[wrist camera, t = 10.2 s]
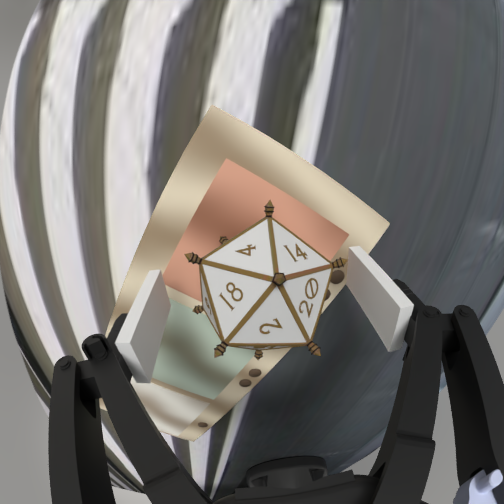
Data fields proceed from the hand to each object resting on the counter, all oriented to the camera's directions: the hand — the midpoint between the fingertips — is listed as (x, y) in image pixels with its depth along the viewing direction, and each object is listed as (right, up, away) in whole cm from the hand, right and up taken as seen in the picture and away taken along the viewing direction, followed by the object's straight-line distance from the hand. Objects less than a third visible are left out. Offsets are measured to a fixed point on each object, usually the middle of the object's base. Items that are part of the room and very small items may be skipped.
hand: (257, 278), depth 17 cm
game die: (0, +1, +3) cm, 3 cm away
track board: (-6, -7, +7) cm, 12 cm away
